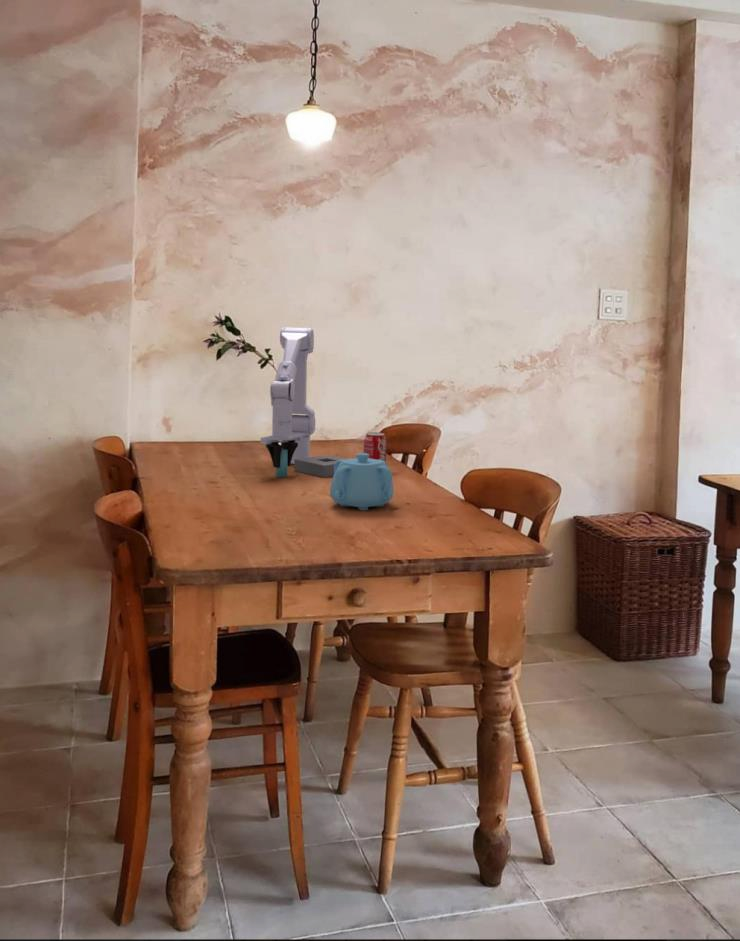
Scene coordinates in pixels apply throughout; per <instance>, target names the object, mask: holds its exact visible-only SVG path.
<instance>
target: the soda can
mask: <svg viewBox="0 0 740 941" xmlns="http://www.w3.org/2000/svg"><path fill="white" fill-rule="evenodd" d="M385 435H386V434H385V433H383V432H376V431H375V432H367V433H366V434H365V436H364V439H363V452H362V453H367V454H369V457H368V458H369V459H376V460H383V461H385V462H386V463H387V438H386V436H385Z"/></svg>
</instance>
